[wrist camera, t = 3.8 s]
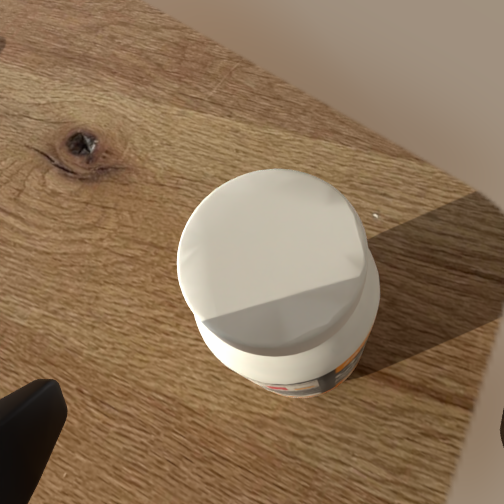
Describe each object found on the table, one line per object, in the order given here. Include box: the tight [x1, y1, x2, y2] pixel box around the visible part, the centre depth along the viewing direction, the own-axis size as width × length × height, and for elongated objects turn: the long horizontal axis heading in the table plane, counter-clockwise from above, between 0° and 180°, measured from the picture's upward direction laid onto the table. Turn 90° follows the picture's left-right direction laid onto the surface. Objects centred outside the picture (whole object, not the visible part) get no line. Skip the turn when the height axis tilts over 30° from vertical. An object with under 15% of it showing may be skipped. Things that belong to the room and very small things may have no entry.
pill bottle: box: [177, 169, 380, 398], centre depth 14 cm, size 6×6×10 cm
